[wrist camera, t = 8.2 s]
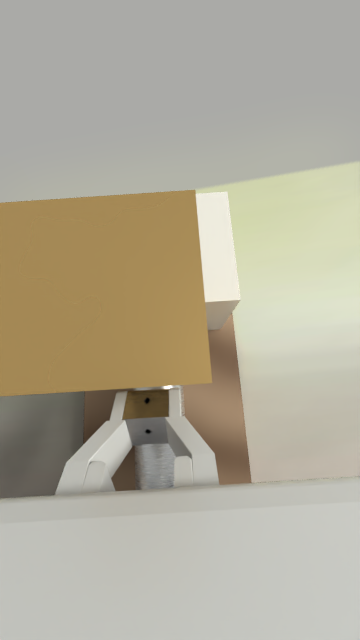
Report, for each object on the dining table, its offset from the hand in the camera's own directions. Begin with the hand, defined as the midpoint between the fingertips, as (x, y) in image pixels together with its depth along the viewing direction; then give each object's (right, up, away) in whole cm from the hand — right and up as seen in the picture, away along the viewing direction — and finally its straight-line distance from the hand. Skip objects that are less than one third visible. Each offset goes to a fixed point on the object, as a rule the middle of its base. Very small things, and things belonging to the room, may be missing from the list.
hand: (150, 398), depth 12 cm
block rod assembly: (0, -1, +5) cm, 5 cm away
